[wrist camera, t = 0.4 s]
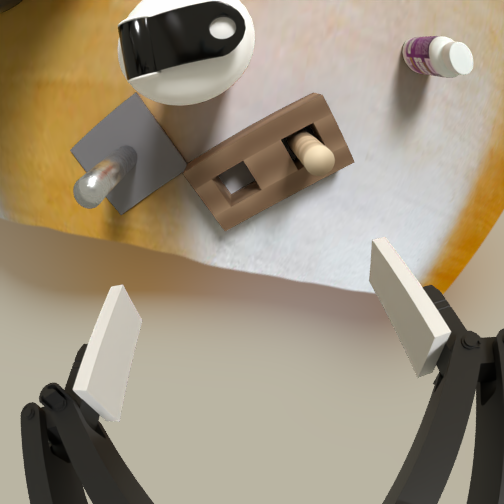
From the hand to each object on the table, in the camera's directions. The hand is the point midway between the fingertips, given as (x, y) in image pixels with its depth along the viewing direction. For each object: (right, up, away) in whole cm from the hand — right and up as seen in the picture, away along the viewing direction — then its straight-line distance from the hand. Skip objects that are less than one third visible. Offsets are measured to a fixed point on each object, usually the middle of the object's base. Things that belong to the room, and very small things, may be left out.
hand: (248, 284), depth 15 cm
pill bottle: (+22, +28, +14) cm, 38 cm away
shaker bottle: (-5, +24, +14) cm, 29 cm away
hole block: (+2, +14, +21) cm, 25 cm away
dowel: (+6, +16, +20) cm, 26 cm away
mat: (-16, +14, +20) cm, 29 cm away
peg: (-16, +14, +20) cm, 29 cm away
